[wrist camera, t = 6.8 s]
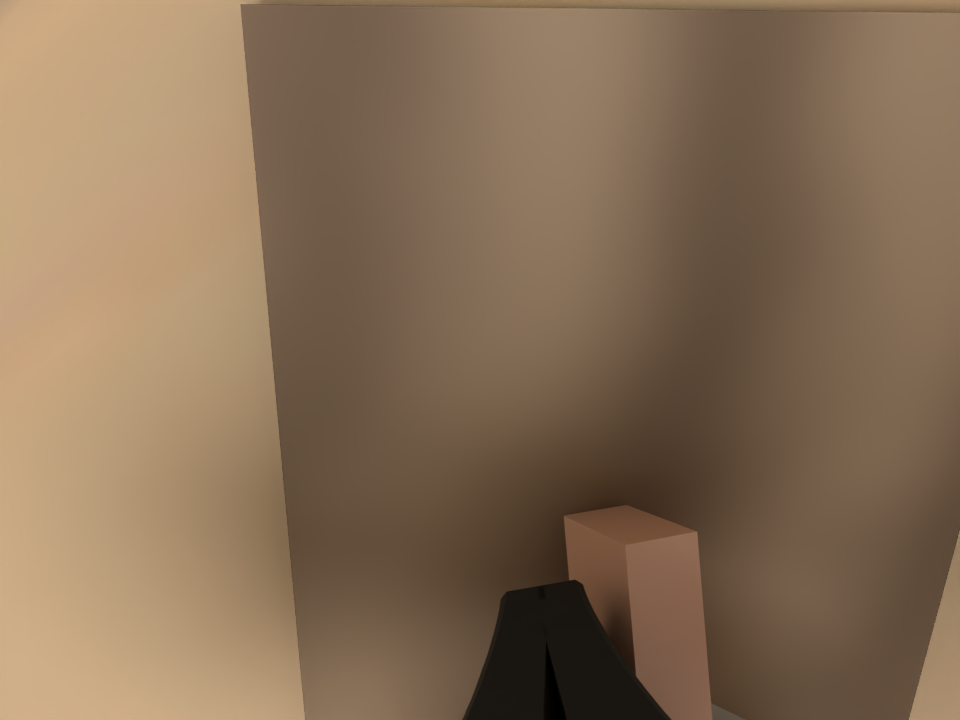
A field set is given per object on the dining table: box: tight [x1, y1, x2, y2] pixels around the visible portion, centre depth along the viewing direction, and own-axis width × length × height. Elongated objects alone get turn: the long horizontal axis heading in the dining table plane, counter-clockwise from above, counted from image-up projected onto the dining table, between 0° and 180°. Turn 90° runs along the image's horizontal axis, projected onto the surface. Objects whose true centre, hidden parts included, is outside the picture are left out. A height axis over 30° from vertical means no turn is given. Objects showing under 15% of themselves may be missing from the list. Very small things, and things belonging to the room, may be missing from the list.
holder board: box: [241, 4, 960, 720], centre depth 15 cm, size 12×22×2 cm, turn 179°
